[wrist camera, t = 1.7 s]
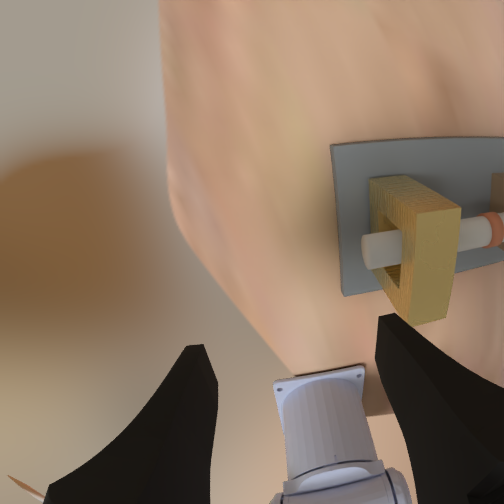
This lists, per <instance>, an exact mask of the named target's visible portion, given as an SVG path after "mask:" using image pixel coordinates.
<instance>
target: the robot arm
mask: <svg viewBox="0 0 504 504" xmlns="http://www.w3.org/2000/svg"><path fill="white" fill-rule="evenodd" d="M375 361H376V364H377V368H378V372H379V375H380V378H381V382H382V384H383V387H384V389H385V391H386V394H387V396H388V399H389V401H390V403H391V406H392V408H393V411H394V413H395V415H396V418H397V420H398V423H399V425H400V428H401V430H402V433H403V436H404V439H405V442H406V446H407V450H408V454H409V457H410V462H411V467H412V471H413V476H414V481H415V487H416V494H417V500H418V504H504V388H502V387H500V386H498V385H496V384H494V383H492V382H490V381H488V380H486V379H484V378H482V377H480V376H479V375H477V374H475V373H474V372H472V371H470V370H469V369H467V368H465V367H464V366H462V365H461V364H459V363H458V362H456V361H455V360H454V359H452V358H451V357H449V356H448V355H446V354H445V353H444V352H442V351H441V350H440V349H438V348H437V347H436V346H435V345H433V344H432V343H431V342H429V341H428V340H427V339H426V338H425V337H423V336H422V335H421V334H420V333H418V332H417V331H416V330H415V329H414V328H412V327H411V326H410V325H409V324H408V323H407V322H405V321H404V320H403V319H402V318H400V317H399V316H398V315H397V314H396V313H392V314H388V315H383V316H379V318H378V331H377V342H376V352H375ZM364 376H365V368H364V366H362V365H359V366H354V367H349V368H344V369H339V370H334V371H329V372H323V373H318V374H312V375H306V376H300V377H293V378H286V379H279V380H276V381H274V382H273V388H274V393H275V397H276V402H277V406H278V411H279V416H280V420H281V425H282V429H283V434H284V435H285V447H286V459H287V472H288V481H284V482H283V490H284V492H282V493H277V494H276V495H275V496H274V498H273V499H272V500H271V501H270V503H269V504H412V500H411V495H410V492H409V488H408V485H407V483H406V480H405V478H404V476H403V475H402V473H401V472H399V471H397V470H395V469H394V468H392V467H391V468H388V469H385V468H384V465H383V461H382V460H378V458H377V454H376V450H375V447H374V443H373V440H372V437H371V433H370V429H369V426H368V422H367V419H366V415H365V412H364V408H363V405H362V394H363V385H364ZM217 411H218V381H217V379H216V376H215V374H214V371H213V368H212V366H211V363H210V361H209V358H208V355H207V353H206V350H205V347H204V344H200V345H189V346H186V347H185V348H184V350H183V352H182V353H181V355H180V356H179V358H178V359H177V361H176V362H175V364H174V365H173V367H172V368H171V370H170V371H169V373H168V375H167V376H166V377H165V379H164V380H163V382H162V383H161V385H160V386H159V388H158V389H157V391H156V392H155V393H154V395H153V396H152V397H151V398H150V400H149V401H148V402H147V404H146V405H145V406H144V407H143V409H142V410H141V411H140V413H139V414H138V415H137V416H136V417H135V418H134V419H133V421H132V422H131V423H130V424H129V425H128V426H127V427H126V428H125V429H124V430H123V431H122V432H121V433H120V434H119V435H118V436H117V437H116V438H115V439H114V440H113V441H112V442H111V443H110V444H109V445H107V446H106V447H105V448H104V449H103V450H102V451H100V452H99V453H98V454H97V455H96V456H94V457H93V458H92V459H90V460H89V461H88V462H86V463H85V464H83V465H82V466H80V467H79V468H78V469H76V470H74V471H73V472H71V473H70V474H68V475H66V476H65V477H63V478H61V479H59V480H57V481H56V482H54V483H52V484H50V485H49V487H48V490H47V493H46V496H45V499H44V502H43V504H210V466H211V456H212V448H213V441H214V434H215V426H216V419H217Z"/></svg>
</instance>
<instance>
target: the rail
mask: <svg viewBox="0 0 504 504" xmlns="http://www.w3.org/2000/svg"><path fill="white" fill-rule="evenodd" d="M330 151H331V160H332V168H333V178H334V188H335V198H336V210H337V223H338V237H339V253H340V274H341V291H342V294H343V296H344V297H345V296H351V295H356V294H361V293H366V292H372V291H377V290H382V289H383V288H382V287H381V285H380V283H379V282H378V280H377V279H376V277H375V276H374V274H373V272H372V271H371V269H376V268H381V267H386V266H391V265H397V264H401V256H402V231H401V230H400V229H398V230H391V231H385V232H379V233H373V234H371V225H370V199H369V182H368V179H371V178H379V177H388V176H398V175H406V176H408V177H410V178H412V179H413V180H415V181H417V182H419V183H421V184H423V185H424V186H426V187H428V188H430V189H431V190H433V191H435V192H437V193H438V194H440V195H442V196H443V197H445V198H447V199H448V200H450V201H452V202H453V203H455V204H457V205H458V206H460V207H461V221H460V232H459V241H458V250H457V258H456V265H455V272H454V273H458V272H462V271H466V270H470V269H474V268H478V267H482V266H485V265H489V264H493V263H497V262H500V261H504V137H424V138H404V139H389V140H375V141H364V142H353V143H343V144H334V145H330Z"/></svg>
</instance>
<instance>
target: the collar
mask: <svg viewBox="0 0 504 504" xmlns="http://www.w3.org/2000/svg"><path fill="white" fill-rule="evenodd" d="M368 182H369V199H370V225H371V234H373V233H379V232H385V231H391V230H398V229H400V230H401V231H402V256H401V264H397V265H391V266H386V267H381V268H376V269H371V271H372V272H373V274H374V276H375V277H376V279H377V280H378V282H379V283H380V285H381V287H382V288H383V290H384V291H385V293H386V295H387V296H388V298H389V300H390V301H391V303H392V304H393V306H394V308H395V309H396V311H397V313H398V314H399V316H400V318H402V319H403V320H404V321H405V322H407V323H408V324H409V325H410V326H411V327H414V326H418V325H421V324H425V323H429V322H432V321H436V320H440V319H443V318H446V315H447V310H448V305H449V300H450V295H451V289H452V284H453V278H454V272H455V265H456V258H457V250H458V241H459V232H460V221H461V207H460V206H458V205H457V204H455V203H453V202H452V201H450V200H448V199H447V198H445V197H443V196H442V195H440V194H438V193H437V192H435V191H433V190H431V189H430V188H428V187H426V186H424V185H423V184H421V183H419V182H417V181H415V180H413V179H412V178H410V177H408V176H406V175H398V176H388V177H379V178H371V179H368Z"/></svg>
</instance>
